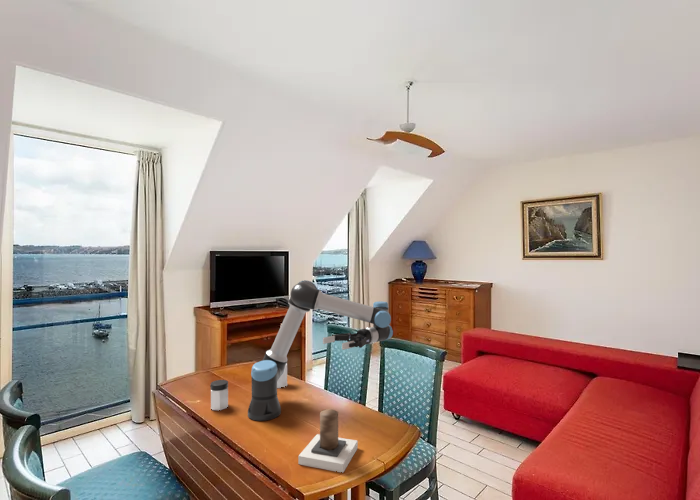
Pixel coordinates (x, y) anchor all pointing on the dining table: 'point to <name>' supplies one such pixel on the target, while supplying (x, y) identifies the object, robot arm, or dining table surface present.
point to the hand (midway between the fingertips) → (332, 343)
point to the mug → (283, 379)
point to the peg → (329, 429)
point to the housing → (328, 455)
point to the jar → (219, 394)
